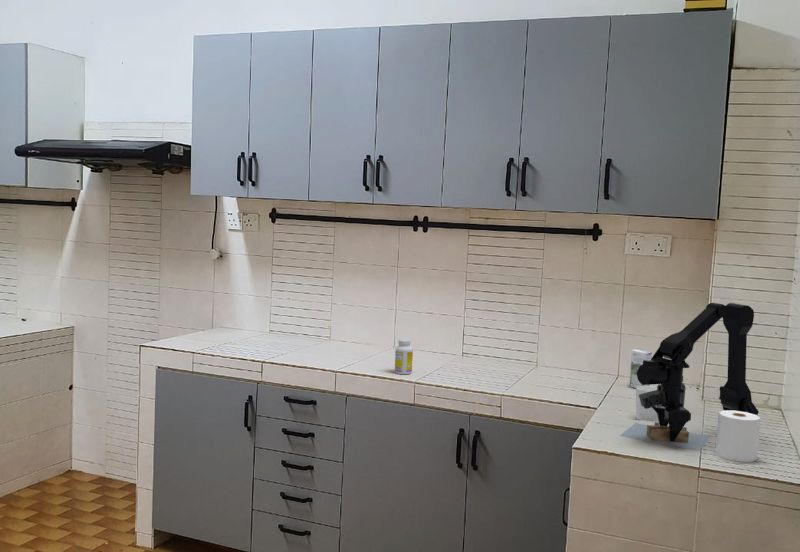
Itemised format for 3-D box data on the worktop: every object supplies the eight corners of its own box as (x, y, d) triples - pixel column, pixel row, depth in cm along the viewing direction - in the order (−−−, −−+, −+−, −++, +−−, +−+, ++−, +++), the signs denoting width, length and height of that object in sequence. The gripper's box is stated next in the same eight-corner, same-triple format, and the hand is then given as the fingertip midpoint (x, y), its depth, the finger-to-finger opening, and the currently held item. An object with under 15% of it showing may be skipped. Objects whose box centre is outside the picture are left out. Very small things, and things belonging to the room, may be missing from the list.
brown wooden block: (680, 436, 230) (681, 426, 229) (688, 442, 224) (688, 432, 223) (646, 435, 230) (647, 424, 230) (652, 441, 224) (653, 430, 224)
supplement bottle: (411, 371, 308) (413, 339, 307) (412, 375, 301) (413, 342, 300) (394, 371, 308) (395, 338, 307) (394, 374, 301) (396, 341, 300)
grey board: (711, 438, 232) (711, 429, 232) (699, 453, 217) (700, 443, 216) (635, 425, 243) (636, 416, 243) (619, 438, 228) (620, 428, 228)
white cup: (639, 414, 257) (642, 384, 256) (663, 419, 252) (666, 389, 251) (630, 419, 251) (632, 388, 250) (654, 424, 246) (656, 392, 245)
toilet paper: (708, 452, 218) (712, 409, 217) (745, 453, 219) (748, 410, 218) (725, 464, 208) (729, 419, 207) (763, 465, 209) (767, 420, 208)
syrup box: (650, 388, 298) (653, 350, 297) (643, 390, 294) (645, 352, 292) (636, 385, 302) (638, 348, 301) (628, 387, 298) (631, 349, 296)
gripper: (633, 375, 235) (630, 426, 236) (652, 389, 216) (648, 445, 218) (671, 376, 235) (667, 428, 236) (693, 391, 216) (689, 447, 217)
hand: (667, 436), depth 227 cm, fingers open, 8 cm apart
